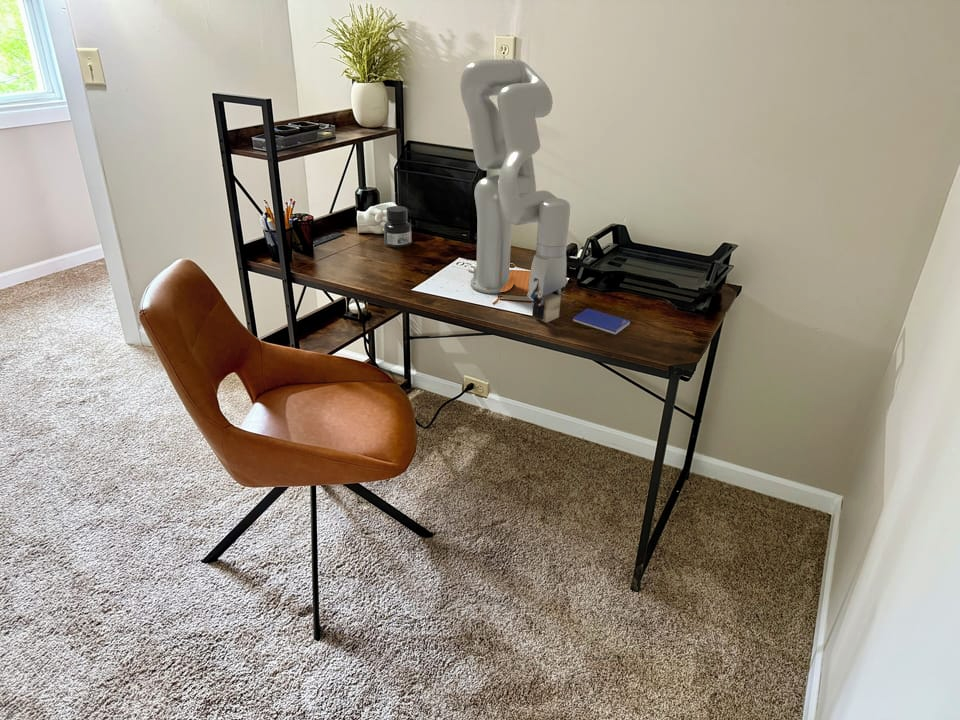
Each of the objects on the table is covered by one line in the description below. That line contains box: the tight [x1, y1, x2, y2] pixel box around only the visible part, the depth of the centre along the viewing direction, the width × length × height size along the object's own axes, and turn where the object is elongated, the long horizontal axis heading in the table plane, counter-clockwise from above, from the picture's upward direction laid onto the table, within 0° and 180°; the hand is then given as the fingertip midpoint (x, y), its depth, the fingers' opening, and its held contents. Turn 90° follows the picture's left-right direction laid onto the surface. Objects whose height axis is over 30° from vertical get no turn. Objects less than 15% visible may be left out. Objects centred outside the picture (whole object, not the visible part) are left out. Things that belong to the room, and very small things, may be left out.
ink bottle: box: [383, 205, 412, 249], centre depth 221 cm, size 10×9×12 cm
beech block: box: [531, 293, 562, 323], centre depth 175 cm, size 5×5×6 cm
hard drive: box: [572, 308, 631, 335], centre depth 175 cm, size 2×8×12 cm
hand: (545, 313), depth 176 cm, fingers open, 5 cm apart
